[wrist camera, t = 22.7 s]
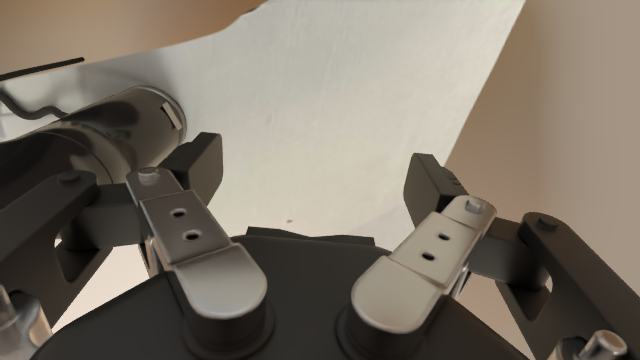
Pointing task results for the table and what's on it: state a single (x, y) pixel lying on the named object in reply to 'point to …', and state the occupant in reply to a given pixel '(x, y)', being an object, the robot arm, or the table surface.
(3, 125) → the table surface
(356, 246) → the robot arm
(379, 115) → the table surface
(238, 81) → the table surface
